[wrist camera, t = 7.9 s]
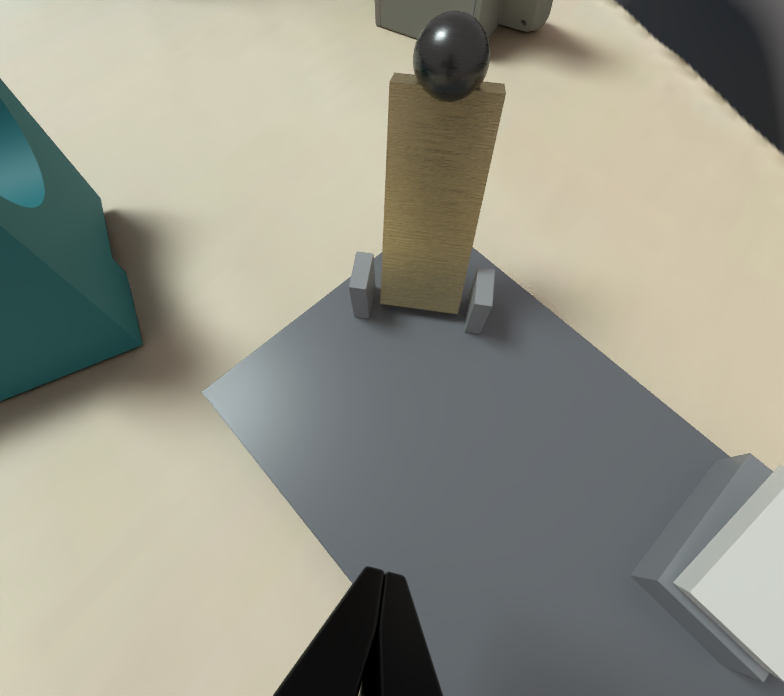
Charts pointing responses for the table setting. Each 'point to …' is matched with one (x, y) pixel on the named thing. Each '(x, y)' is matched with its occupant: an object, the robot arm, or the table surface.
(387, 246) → the brass lever
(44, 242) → the teal curved cradle
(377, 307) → the control panel
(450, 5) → the digital clock
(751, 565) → the rocker switch
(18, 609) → the table surface
